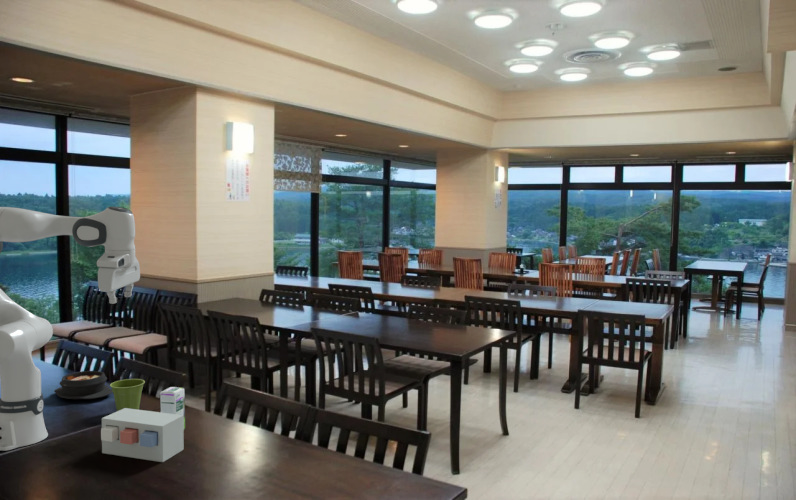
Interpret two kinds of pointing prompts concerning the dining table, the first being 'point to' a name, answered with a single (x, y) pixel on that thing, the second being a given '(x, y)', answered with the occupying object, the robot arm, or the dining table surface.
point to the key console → (163, 423)
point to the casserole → (83, 385)
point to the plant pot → (127, 393)
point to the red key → (129, 436)
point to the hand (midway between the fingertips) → (120, 299)
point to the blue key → (149, 439)
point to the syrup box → (173, 401)
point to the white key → (110, 433)
